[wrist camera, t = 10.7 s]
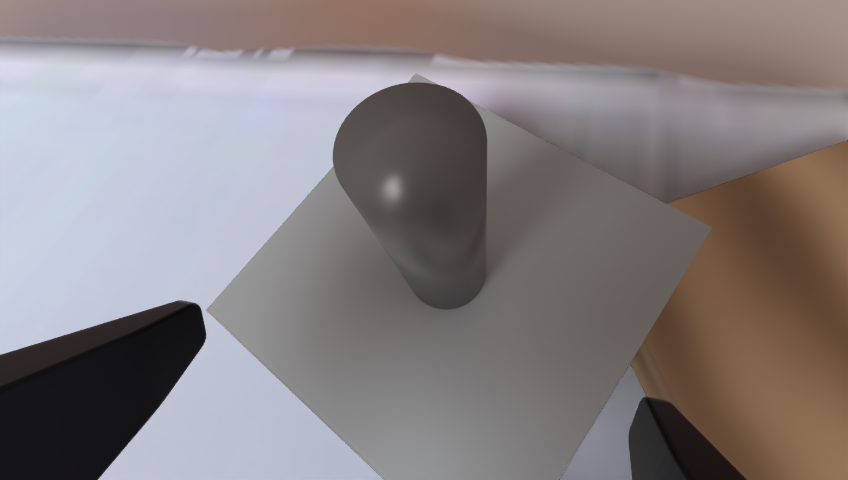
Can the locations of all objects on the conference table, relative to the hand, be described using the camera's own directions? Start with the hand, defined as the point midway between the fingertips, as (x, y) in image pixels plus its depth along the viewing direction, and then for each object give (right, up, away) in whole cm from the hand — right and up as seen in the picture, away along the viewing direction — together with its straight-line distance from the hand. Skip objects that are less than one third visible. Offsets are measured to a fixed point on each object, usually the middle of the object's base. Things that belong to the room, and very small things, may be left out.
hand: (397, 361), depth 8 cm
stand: (+17, -2, +11) cm, 21 cm away
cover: (+1, +1, +7) cm, 7 cm away
